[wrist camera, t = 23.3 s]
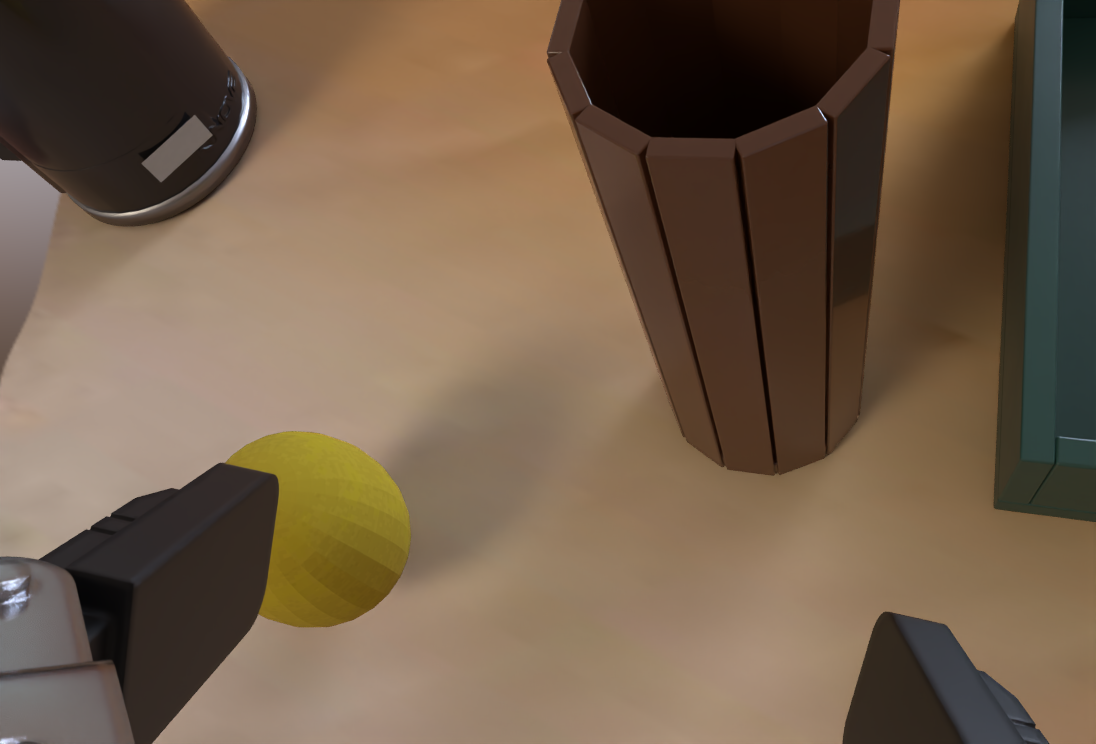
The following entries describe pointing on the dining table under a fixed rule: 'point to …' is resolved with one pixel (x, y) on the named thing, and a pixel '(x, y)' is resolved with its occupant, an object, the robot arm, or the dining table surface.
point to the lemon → (328, 529)
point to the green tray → (1050, 268)
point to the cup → (740, 202)
